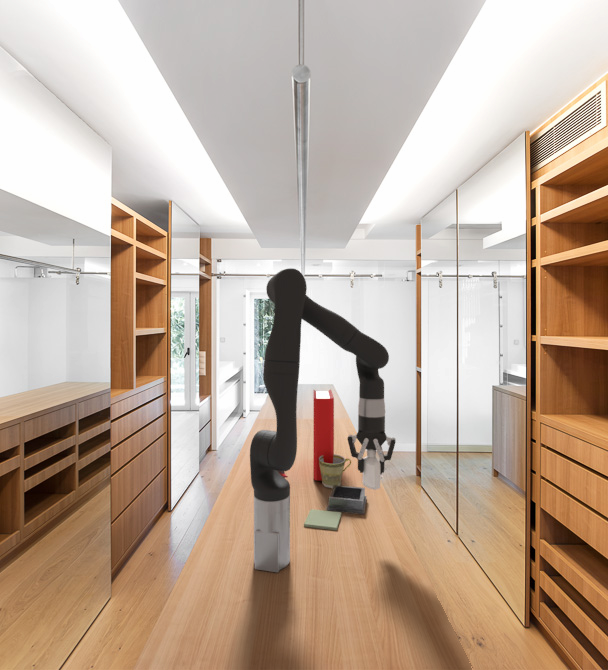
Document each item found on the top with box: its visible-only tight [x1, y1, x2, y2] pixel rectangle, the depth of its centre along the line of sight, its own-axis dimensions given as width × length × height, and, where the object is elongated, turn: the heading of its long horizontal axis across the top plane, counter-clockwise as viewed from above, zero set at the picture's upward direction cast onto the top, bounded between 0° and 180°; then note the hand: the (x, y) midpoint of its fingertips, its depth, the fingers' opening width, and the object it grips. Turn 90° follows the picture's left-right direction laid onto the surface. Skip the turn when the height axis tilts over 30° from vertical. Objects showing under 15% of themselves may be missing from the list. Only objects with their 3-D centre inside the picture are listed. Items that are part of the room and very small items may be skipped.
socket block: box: [326, 485, 368, 515], centre depth 133 cm, size 12×12×4 cm
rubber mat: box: [303, 508, 342, 531], centre depth 122 cm, size 10×10×1 cm
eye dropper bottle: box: [361, 449, 381, 491], centre depth 112 cm, size 4×6×12 cm
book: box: [312, 389, 335, 482], centre depth 167 cm, size 27×8×32 cm, turn 179°
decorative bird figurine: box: [277, 470, 289, 479], centre depth 150 cm, size 3×18×10 cm, turn 21°
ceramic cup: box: [319, 453, 352, 489], centre depth 150 cm, size 13×10×10 cm
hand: (371, 472), depth 112 cm, fingers closed on eye dropper bottle, 4 cm apart
